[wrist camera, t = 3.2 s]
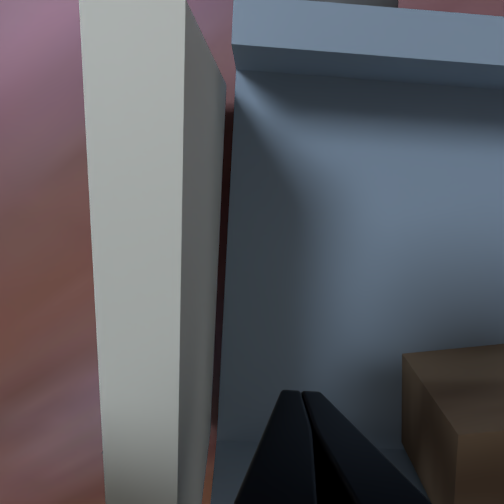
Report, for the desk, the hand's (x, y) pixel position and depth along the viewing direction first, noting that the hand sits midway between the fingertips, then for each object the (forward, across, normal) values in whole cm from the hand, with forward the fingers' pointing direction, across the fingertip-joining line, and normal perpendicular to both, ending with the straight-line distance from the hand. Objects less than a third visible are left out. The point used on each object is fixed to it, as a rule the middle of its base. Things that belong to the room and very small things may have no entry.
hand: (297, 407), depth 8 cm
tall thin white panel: (+7, +3, 0) cm, 8 cm away
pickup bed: (+8, -6, 0) cm, 10 cm away
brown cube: (+7, -8, +4) cm, 12 cm away
